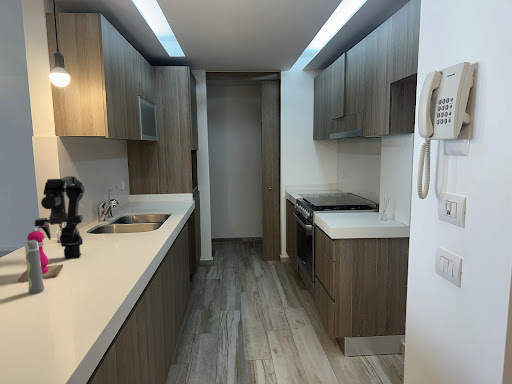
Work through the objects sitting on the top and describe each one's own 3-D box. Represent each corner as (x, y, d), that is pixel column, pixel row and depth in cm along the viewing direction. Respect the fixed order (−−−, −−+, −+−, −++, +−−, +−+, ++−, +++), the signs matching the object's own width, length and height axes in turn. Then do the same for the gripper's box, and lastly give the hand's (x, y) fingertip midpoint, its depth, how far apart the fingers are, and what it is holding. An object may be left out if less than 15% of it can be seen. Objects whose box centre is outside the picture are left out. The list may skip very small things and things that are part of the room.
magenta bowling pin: (51, 268, 146) (46, 225, 144) (47, 274, 140) (42, 228, 137) (32, 271, 144) (27, 226, 141) (27, 277, 137) (22, 230, 134)
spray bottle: (41, 287, 128) (36, 238, 126) (46, 291, 125) (40, 240, 123) (27, 292, 124) (21, 241, 122) (31, 295, 121) (25, 243, 119)
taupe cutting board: (63, 266, 152) (62, 264, 152) (56, 277, 139) (56, 274, 139) (27, 271, 147) (27, 268, 147) (17, 282, 134) (17, 279, 134)
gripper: (29, 210, 140) (33, 245, 142) (78, 206, 146) (81, 240, 148) (36, 206, 150) (39, 239, 152) (81, 203, 157) (84, 235, 159)
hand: (61, 238), depth 153 cm, fingers open, 9 cm apart
